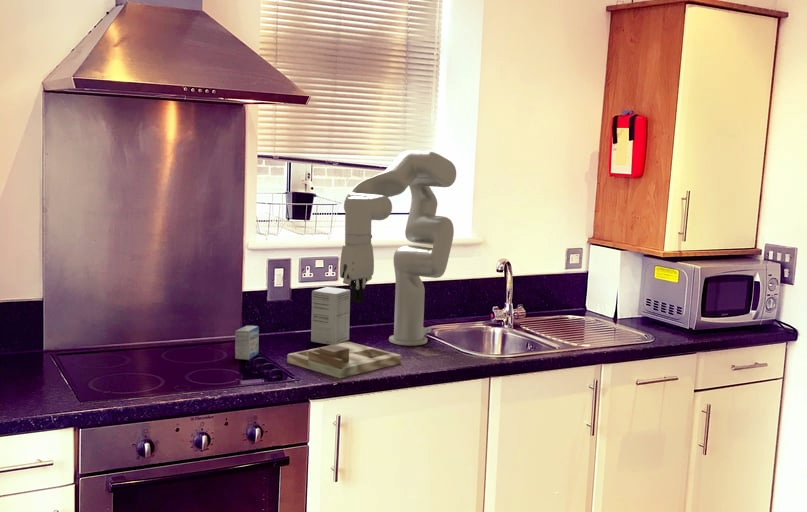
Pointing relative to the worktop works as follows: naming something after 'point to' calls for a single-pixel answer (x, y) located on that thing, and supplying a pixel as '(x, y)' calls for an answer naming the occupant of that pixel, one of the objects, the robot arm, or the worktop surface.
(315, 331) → the supplement box
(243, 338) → the medicine box
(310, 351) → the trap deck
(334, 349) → the walnut block
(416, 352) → the worktop surface
